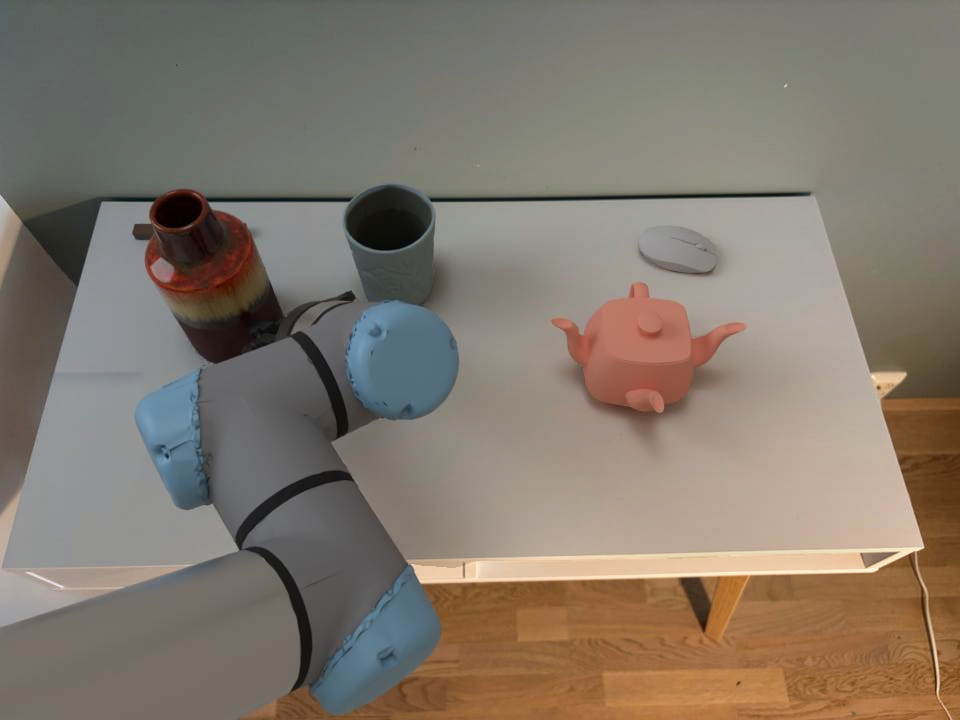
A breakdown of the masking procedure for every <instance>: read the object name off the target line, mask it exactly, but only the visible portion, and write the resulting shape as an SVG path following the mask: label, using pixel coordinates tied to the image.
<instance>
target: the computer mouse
mask: <svg viewBox="0 0 960 720" xmlns="http://www.w3.org/2000/svg"><path fill="white" fill-rule="evenodd" d="M638 247H639V249H640V251H641V253H642V254H643V256H644V257H645V258H646V259H647V260H649V261H650V262H651V263H653V264H655V265H656V266H658V267H660V268H662V269H665V270H669V271H673V272H677V273H687V274H697V273H708V272H710V271H712V270H713V269H714V267H715V266H716V264H717V259H718V251H717V246H716V245H715V244H714V243H713V242H712V241H711V240H710V239H709V238H707V237H706V236H704V235H703V234H701V233H700V232H697V231H695V230H693V229H691V228H688V227H683V226H679V225H659V226H654V227H653V226H652V227H649V228H646V229H644V230H642V231H641V232H640V233H639V236H638Z"/></svg>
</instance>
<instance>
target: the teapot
mask: <svg viewBox="0 0 960 720" xmlns="http://www.w3.org/2000/svg"><path fill="white" fill-rule="evenodd" d="M689 322H690V321H689V317H688V313H687V311H686V308H685V306H684V305H683V304H681V303H680V302H677V301H674V300H670V299H664V298H656V297H655V298H654V297H650V290H649V286H648V284H647V283H645V282H641V281H637V282H633V283H631V286H630V288H629V293H628V297H622V298H615V299H612V300H608V301H607V302H605V303H603V304H602V305H601V306H600V307H599V308H597V310H596V311H595V312H594V313H593V314H592V315H591V317H590V318H589V320H588V321H587V323H586V326H585V328H584V330H583V334H581V333H580V330H579V327H578V325H577V324H576V322H574V321H572V320H571V319H568V318H564V317H554V318H552V319H551V320H550V323H551V324H552V326H554V327H556V328H558V329H559V330H561V331H563V332H564V333H565V335H566V347H567V350H568V355H569V356H570V357H571V359H572V360H573V361H574V362H575V363H577V364H578V365H579V366H581V367H582V370H583V378H584V382H585V387H586V389H587V392H588V393H589V394H590V396H591V397H592V398H593V399H595V400H597V401H599V402H603V403H605V404H611V405H615V406H616V405H617V406H622V407H631V408H632V409H633V410H635V411H639V412H651V411H655V412H656V413H657V414H658V413H659V414H661V413H663V412H664V410H665V405H669V404H673V403H675V402H678V401H681V400H682V399H683V398H685V397H686V395H687V394H688V393H689V391H690V389H691V385H692V382H693V378H694V370H695V369H698V368H699V367H702V366H703V365H705V364H707V363H708V362H709V361H710V360H711V359H712V358H713V357H714V355H715V354H716V353H717V351H718V349H719V348H720V346H721V345H722V343H723V342H724V341H726V339H727V338H729V337H731V336H734V335H735V334H739V333H740V332H743V331H745V330H746V329H747V327H748V326H747V324H746V323H745V322H740V321H739V322H738V321H735V322H728V323H724V324H722V325H719V326H717V327H715V328H714V329H712V330H711V331H709V332H707V333H706V334H704V335H700V336H698V337H693V338H692V334H691V333H692V332H691V327H690V323H689Z"/></svg>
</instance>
